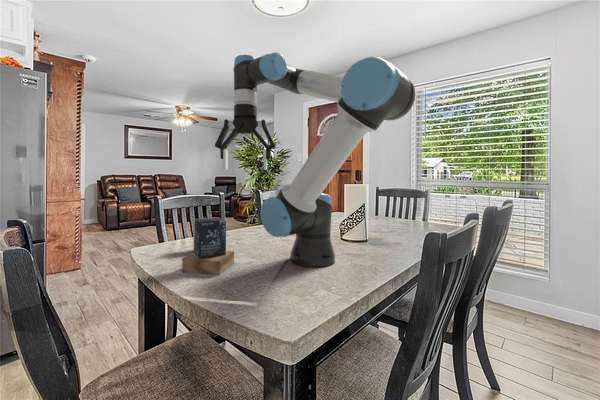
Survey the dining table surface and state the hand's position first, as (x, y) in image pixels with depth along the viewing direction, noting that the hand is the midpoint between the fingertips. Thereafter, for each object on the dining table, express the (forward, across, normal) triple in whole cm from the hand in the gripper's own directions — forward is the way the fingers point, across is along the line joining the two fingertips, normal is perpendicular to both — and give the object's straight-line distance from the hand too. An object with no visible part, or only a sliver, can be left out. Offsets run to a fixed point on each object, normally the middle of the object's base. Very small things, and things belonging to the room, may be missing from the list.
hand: (245, 169), depth 100 cm
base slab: (+30, +7, +15) cm, 34 cm away
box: (+26, +7, +15) cm, 31 cm away
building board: (+30, +7, +15) cm, 35 cm away
